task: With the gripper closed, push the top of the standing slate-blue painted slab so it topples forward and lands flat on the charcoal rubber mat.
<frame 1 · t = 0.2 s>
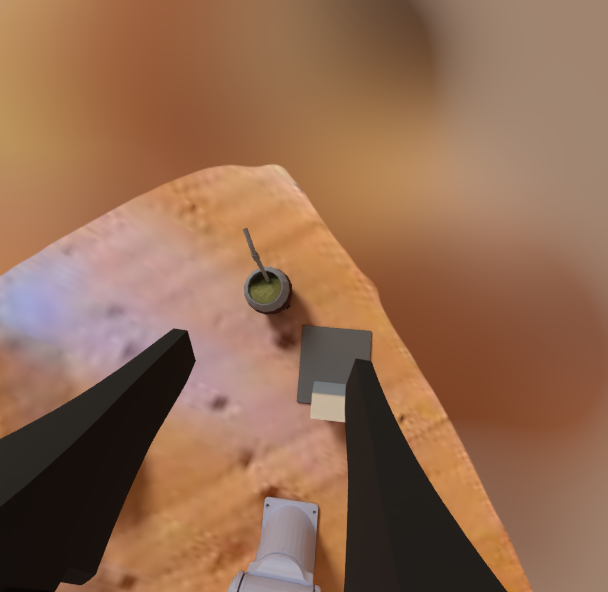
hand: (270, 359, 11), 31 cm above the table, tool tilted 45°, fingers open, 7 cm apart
mate gourd: (274, 293, 43), on the table
slab: (332, 392, 39), resting on mat
mat: (334, 365, 40), on the table
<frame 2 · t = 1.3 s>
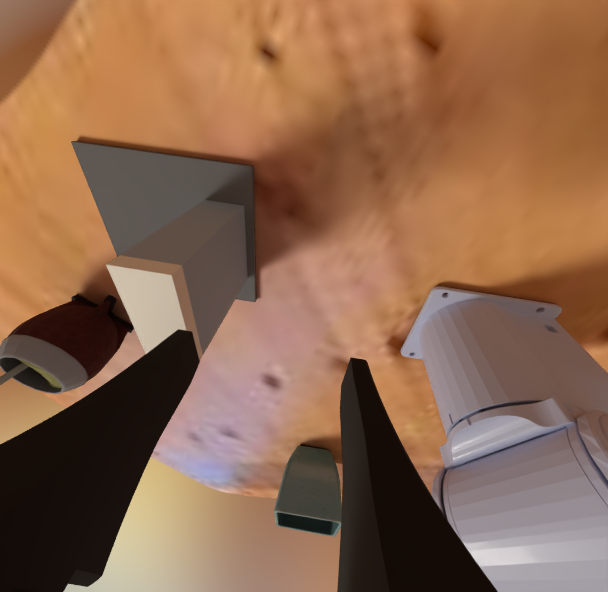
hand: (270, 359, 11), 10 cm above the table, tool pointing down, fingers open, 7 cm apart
flower pot: (313, 451, 41), on the table
mate gourd: (104, 312, 27), on the table
slab: (228, 242, 19), resting on mat
mat: (180, 232, 20), on the table
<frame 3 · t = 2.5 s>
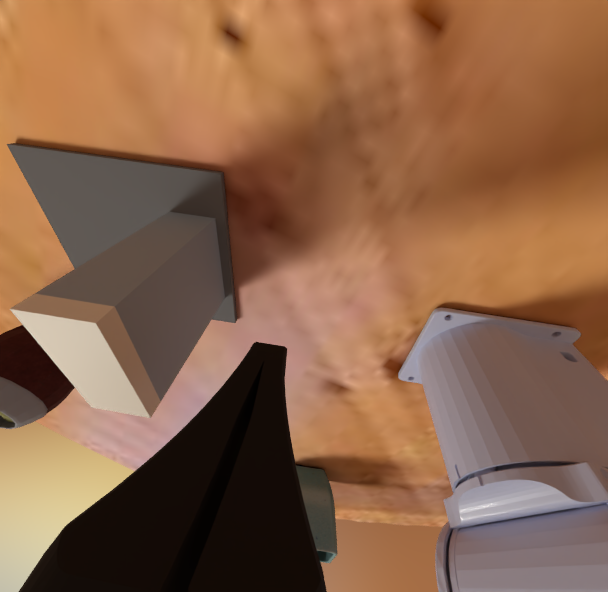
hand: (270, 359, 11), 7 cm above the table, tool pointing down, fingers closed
flower pot: (307, 470, 39), on the table
mate gourd: (72, 331, 24), on the table
slab: (200, 259, 17), resting on mat
mat: (146, 247, 17), on the table
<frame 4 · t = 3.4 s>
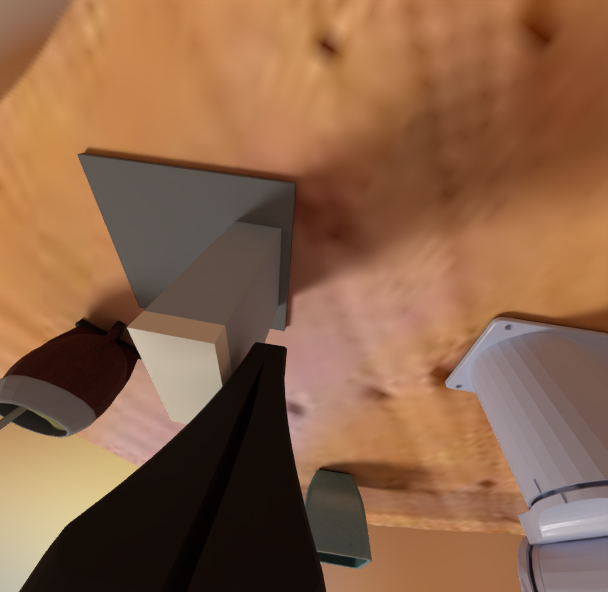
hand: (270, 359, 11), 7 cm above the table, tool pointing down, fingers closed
flower pot: (332, 474, 39), on the table
mate gourd: (111, 337, 24), on the table
slab: (258, 268, 16), resting on mat, touching gripper
mat: (203, 256, 17), on the table
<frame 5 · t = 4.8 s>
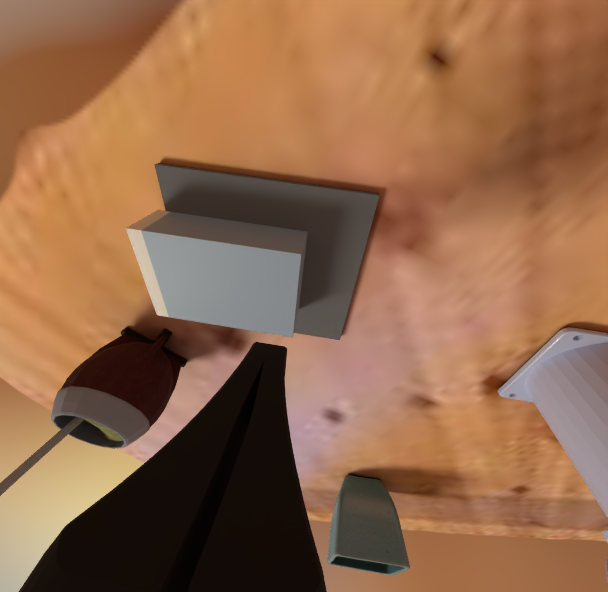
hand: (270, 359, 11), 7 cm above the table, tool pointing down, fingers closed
flower pot: (361, 480, 38), on the table
mate gourd: (154, 345, 24), on the table
slab: (299, 287, 15), point 2 cm above the table, tilted 90°, touching mat
mat: (266, 265, 17), on the table
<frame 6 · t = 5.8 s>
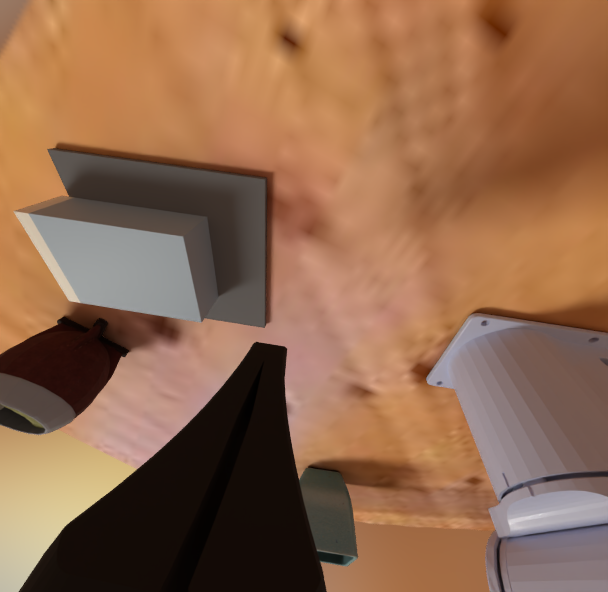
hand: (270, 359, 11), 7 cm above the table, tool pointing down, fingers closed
flower pot: (322, 472, 39), on the table
mate gourd: (94, 335, 24), on the table
slab: (204, 272, 15), point 2 cm above the table, tilted 90°, touching mat
mat: (179, 252, 17), on the table
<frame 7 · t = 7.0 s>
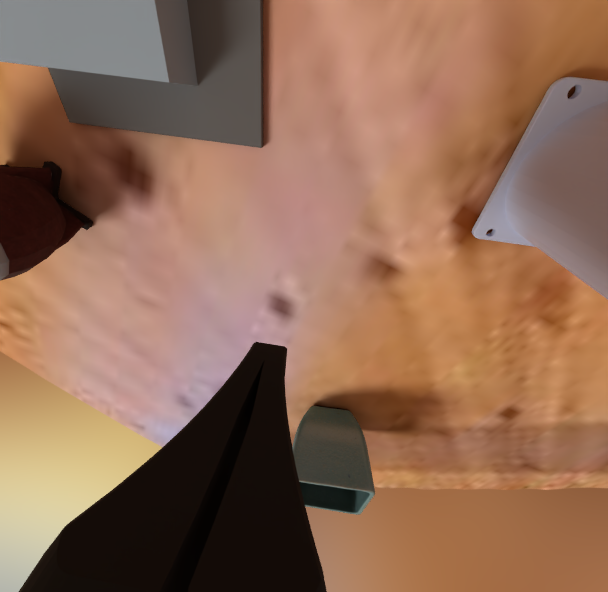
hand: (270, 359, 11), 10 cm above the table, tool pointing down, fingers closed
flower pot: (329, 414, 34), on the table
mate gourd: (49, 199, 19), on the table
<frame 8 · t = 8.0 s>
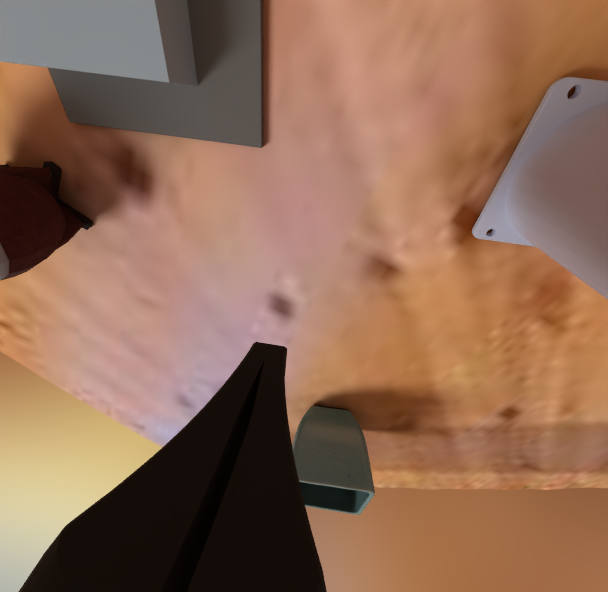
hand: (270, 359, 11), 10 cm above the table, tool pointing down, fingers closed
flower pot: (329, 414, 34), on the table
mate gourd: (49, 199, 19), on the table
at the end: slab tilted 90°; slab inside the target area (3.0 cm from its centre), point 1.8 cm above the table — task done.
